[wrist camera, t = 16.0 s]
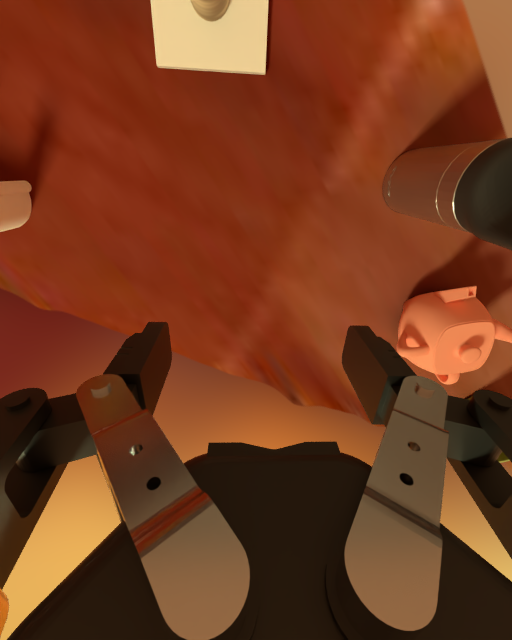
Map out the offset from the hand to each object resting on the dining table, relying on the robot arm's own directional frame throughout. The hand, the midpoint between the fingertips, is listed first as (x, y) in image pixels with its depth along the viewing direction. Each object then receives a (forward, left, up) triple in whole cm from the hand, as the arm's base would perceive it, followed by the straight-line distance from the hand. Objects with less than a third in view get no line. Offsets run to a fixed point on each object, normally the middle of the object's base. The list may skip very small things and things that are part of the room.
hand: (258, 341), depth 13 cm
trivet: (+5, -25, -38) cm, 46 cm away
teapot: (-37, +17, -38) cm, 56 cm away
